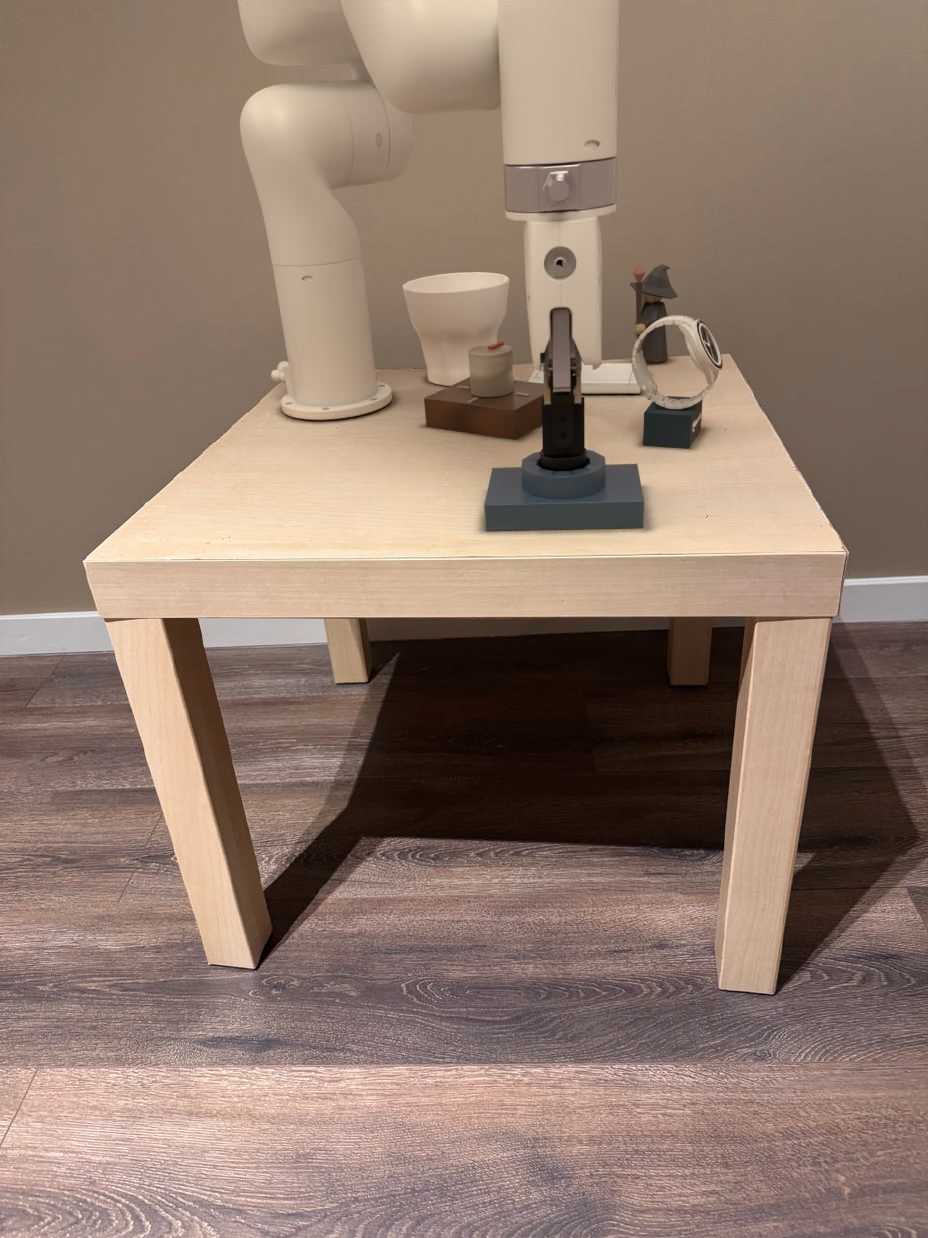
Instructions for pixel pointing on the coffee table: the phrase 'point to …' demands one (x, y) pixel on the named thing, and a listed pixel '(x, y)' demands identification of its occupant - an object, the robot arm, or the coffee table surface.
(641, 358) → the watch
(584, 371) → the hard drive
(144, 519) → the coffee table surface
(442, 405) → the brown wooden block
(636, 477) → the button box
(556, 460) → the button
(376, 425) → the coffee table surface
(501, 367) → the knob
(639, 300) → the wizard figurine
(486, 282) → the cup
